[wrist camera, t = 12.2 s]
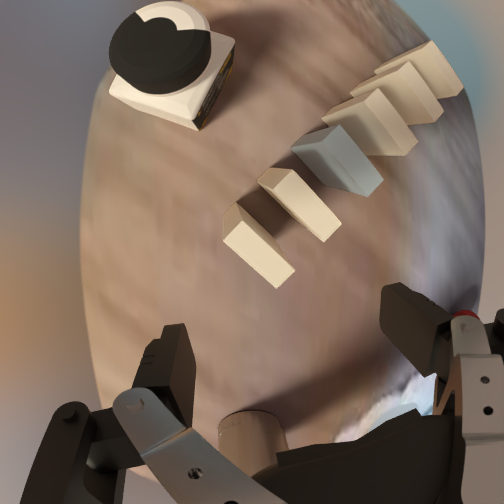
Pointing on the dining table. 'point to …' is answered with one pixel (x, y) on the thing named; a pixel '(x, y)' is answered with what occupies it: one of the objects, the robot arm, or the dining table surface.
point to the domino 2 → (429, 69)
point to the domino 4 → (373, 124)
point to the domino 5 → (337, 161)
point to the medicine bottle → (170, 63)
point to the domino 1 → (255, 245)
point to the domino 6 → (300, 201)
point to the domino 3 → (404, 94)
